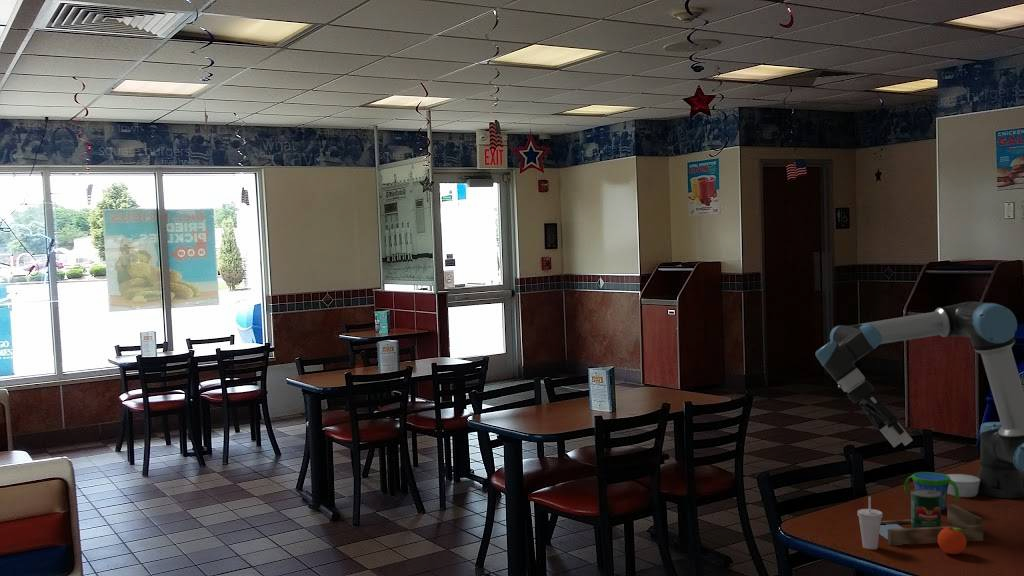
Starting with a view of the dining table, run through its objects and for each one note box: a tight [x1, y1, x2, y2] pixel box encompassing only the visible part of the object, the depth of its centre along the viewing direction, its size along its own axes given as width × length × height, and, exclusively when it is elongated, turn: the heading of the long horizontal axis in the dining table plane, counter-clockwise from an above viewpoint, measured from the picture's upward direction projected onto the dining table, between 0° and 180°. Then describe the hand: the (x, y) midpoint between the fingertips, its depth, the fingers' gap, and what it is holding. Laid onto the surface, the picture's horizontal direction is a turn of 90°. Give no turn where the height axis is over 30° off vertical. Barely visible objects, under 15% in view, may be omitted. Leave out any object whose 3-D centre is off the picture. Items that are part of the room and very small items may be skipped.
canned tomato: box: [910, 488, 942, 528], centre depth 256 cm, size 8×8×11 cm
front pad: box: [879, 524, 904, 541], centre depth 254 cm, size 9×14×1 cm, turn 5°
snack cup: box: [903, 471, 960, 511], centre depth 277 cm, size 16×10×10 cm
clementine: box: [937, 527, 968, 555], centre depth 236 cm, size 8×7×7 cm
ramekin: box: [946, 473, 980, 498], centre depth 292 cm, size 11×11×5 cm
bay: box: [858, 503, 984, 546], centre depth 254 cm, size 28×18×5 cm, turn 95°
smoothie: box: [857, 496, 884, 550], centre depth 243 cm, size 6×6×14 cm
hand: (903, 444), depth 268 cm, fingers open, 13 cm apart
